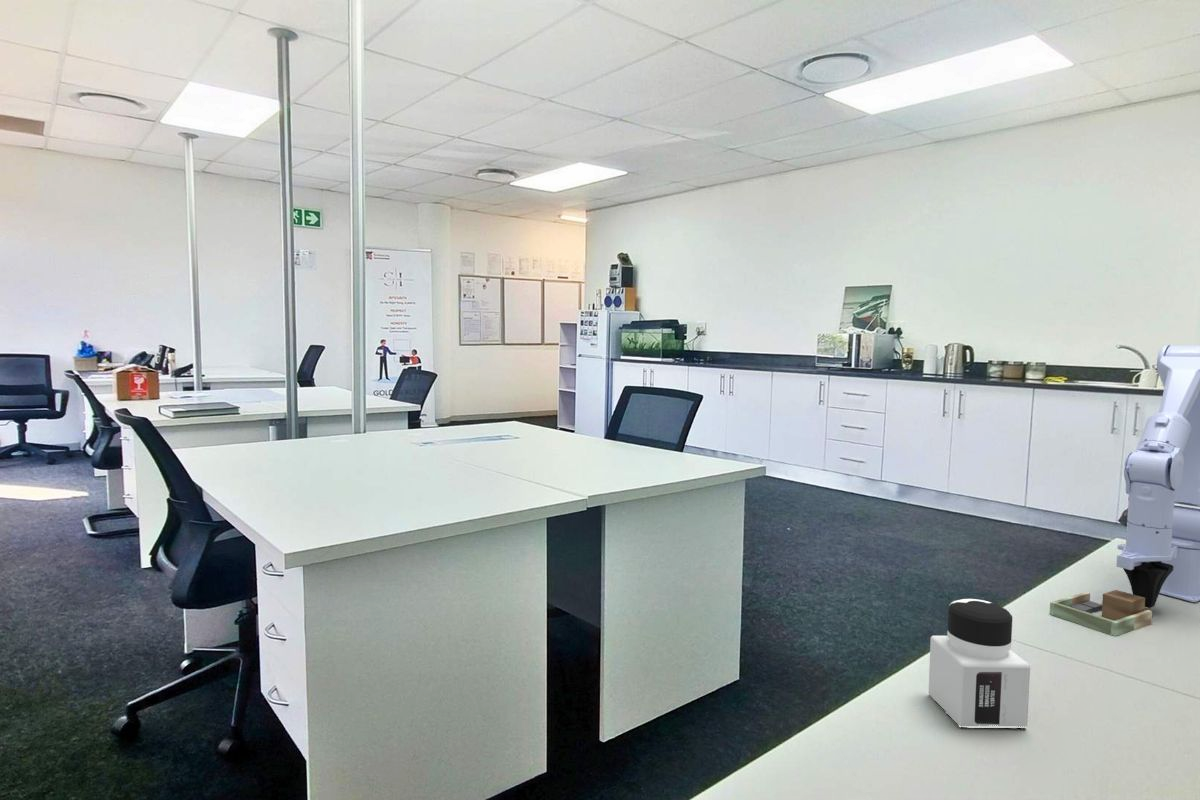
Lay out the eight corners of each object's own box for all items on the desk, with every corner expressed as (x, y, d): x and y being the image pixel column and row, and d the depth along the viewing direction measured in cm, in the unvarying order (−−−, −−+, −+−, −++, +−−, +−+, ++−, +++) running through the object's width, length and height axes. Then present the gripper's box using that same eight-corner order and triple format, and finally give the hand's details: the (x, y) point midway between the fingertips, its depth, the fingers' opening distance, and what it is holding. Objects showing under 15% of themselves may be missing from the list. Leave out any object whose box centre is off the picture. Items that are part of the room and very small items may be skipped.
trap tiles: (1089, 605, 112) (1089, 600, 112) (1102, 609, 110) (1103, 604, 110) (1070, 611, 109) (1070, 606, 109) (1083, 615, 108) (1084, 610, 108)
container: (1028, 730, 75) (1034, 618, 74) (959, 729, 75) (964, 617, 74) (989, 695, 83) (994, 593, 82) (927, 694, 83) (931, 592, 82)
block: (1114, 613, 109) (1116, 589, 109) (1143, 622, 105) (1145, 597, 105) (1101, 617, 107) (1102, 593, 107) (1130, 627, 104) (1131, 602, 103)
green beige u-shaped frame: (1085, 603, 113) (1086, 591, 113) (1151, 623, 105) (1152, 611, 104) (1049, 614, 108) (1050, 602, 108) (1115, 636, 100) (1116, 623, 100)
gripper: (1143, 514, 115) (1138, 590, 116) (1097, 523, 108) (1092, 604, 109) (1194, 523, 109) (1189, 604, 110) (1148, 534, 102) (1143, 619, 103)
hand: (1144, 605), depth 109 cm, fingers closed
